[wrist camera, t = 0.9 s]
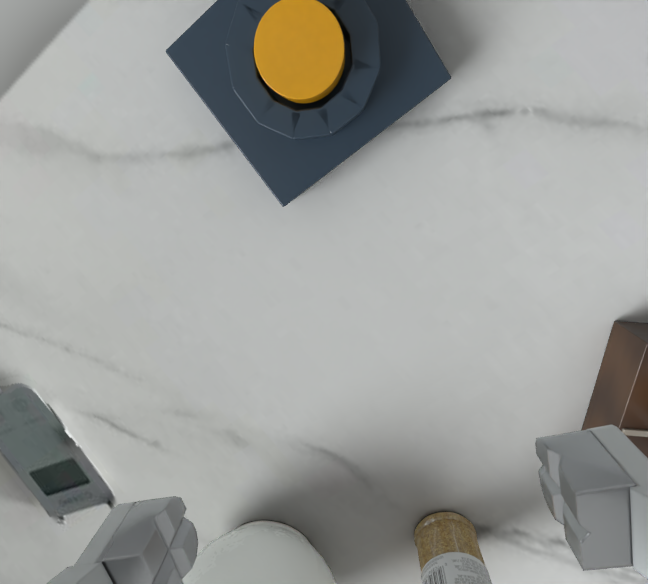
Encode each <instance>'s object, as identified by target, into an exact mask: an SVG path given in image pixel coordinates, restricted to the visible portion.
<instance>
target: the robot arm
mask: <svg viewBox="0 0 648 584" xmlns="http://www.w3.org/2000/svg"><path fill="white" fill-rule="evenodd" d="M535 445H536V454H537V456H538V457H539V459H540V461H541V462H542V464H543V465H542V467H541V468H540V470H539V477H540V484H541V487H542V491H543V494H544V498H545V500H546V502H547V505H548V507H549V509H550V511H551V513H552V515H553V517H554V519H555V520H557V521H558V522H560V523H561V524H563V525H564V529H565V537H566V540H567V542H568V544H569V546H570V548H571V549H572V551H573V553H574V555H575V556H576V558H577V560H578V562H579V564H580V565H581V567H582V569H583V571H584V570H595V569H607V568H618V567H629V566H633V569H634V570H636V571H637V572H638V573H640V574H641V575H642V576H644V577H645V578H646V579H648V458H647V457H646V456H645V455H644V454H643V453H642V452H641V451H640V450H639V449H638V448H637V447H636V446H635V445H634V444H633V443H632V442H631V441H630V440H629V439H628V438H627V436H626V435H625V434H624V433H623V432H622V431H621V430H620V429H619V428H618V427H616V426H614V425H606V426H601V427H595V428H590V429H586V430H582V431H576V432H570V433H564V434H558V435H552V436H546V437H540V438H536V443H535ZM185 511H186V507H185V505H184V503H183V501H182V499H181V498H180V497H176V496H173V497H166V498H158V499H151V500H143V501H138V502H131V503H124V504H119V505H118V506H116V507H114V508H113V509H112V511H111V512H110V513H109V515H108V516H107V518H106V519H105V521H104V522H103V524H102V525H101V527H100V528H99V530H98V531H97V533H96V534H95V536H94V537H93V538H92V540H91V541H90V543H89V544H88V546H87V547H86V549H85V550H84V552H83V553H82V555H81V556H80V558H79V559H78V560H77V562H76V563H75V565H74V566H71V567H67V568H66V569H64V570H63V571H62V572H61V573H59V574H58V575H57V576H56V577H54V578H53V579H52V580H50V581H49V582H48V583H47V584H184V583H183V580H182V579H183V578H184V576H185V575H186V574H187V573H188V572H189V571H190V570H191V569H192V568H193V565H194V562H195V560H196V557H197V549H198V538H197V532H196V529H195V527H194V525H193V523H192V522H191V521H189V520H188V519H186V518H185V517H184V514H185Z"/></svg>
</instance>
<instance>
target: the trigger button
mask: <svg viewBox="0 0 648 584" xmlns="http://www.w3.org/2000/svg"><path fill="white" fill-rule="evenodd" d="M254 57H255V62H256V65H257V68H258V70H259V73H260V75H261V76H262V78H263V80H264V81H265V82H266V83H267V85H268V86H269V87H270V88H271V89H272V90H274V91H275V92H276V93H278V94H279V95H281V96H282V97H284V98H285V99H287V100H289V101H292V102H296V103H312V102H315V101H318V100H320V99H322V98H324V97H325V96H327V95H328V94H329V93H330V92H331V91H332V90H333V89H334V88H335V87H336V85H337V84H338V82H339V80H340V78H341V76H342V73H343V70H344V65H345V46H344V38H343V33H342V30H341V27H340V25H339V23H338V21H337V19H336V17H335V16H334V15H333V13H332V12H331V11H330V10H329V9H328V8H327V7H326V6H325V5H324V4H322V3H321V2H319V1H317V0H280V1H279V2H277V3H275V4H274V5H273V6H272V7H270V8H269V10H268V11H267V12H266V13H265V14H264V16H263V17H262V19H261V21H260V22H259V25H258V27H257V30H256V34H255V38H254Z"/></svg>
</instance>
